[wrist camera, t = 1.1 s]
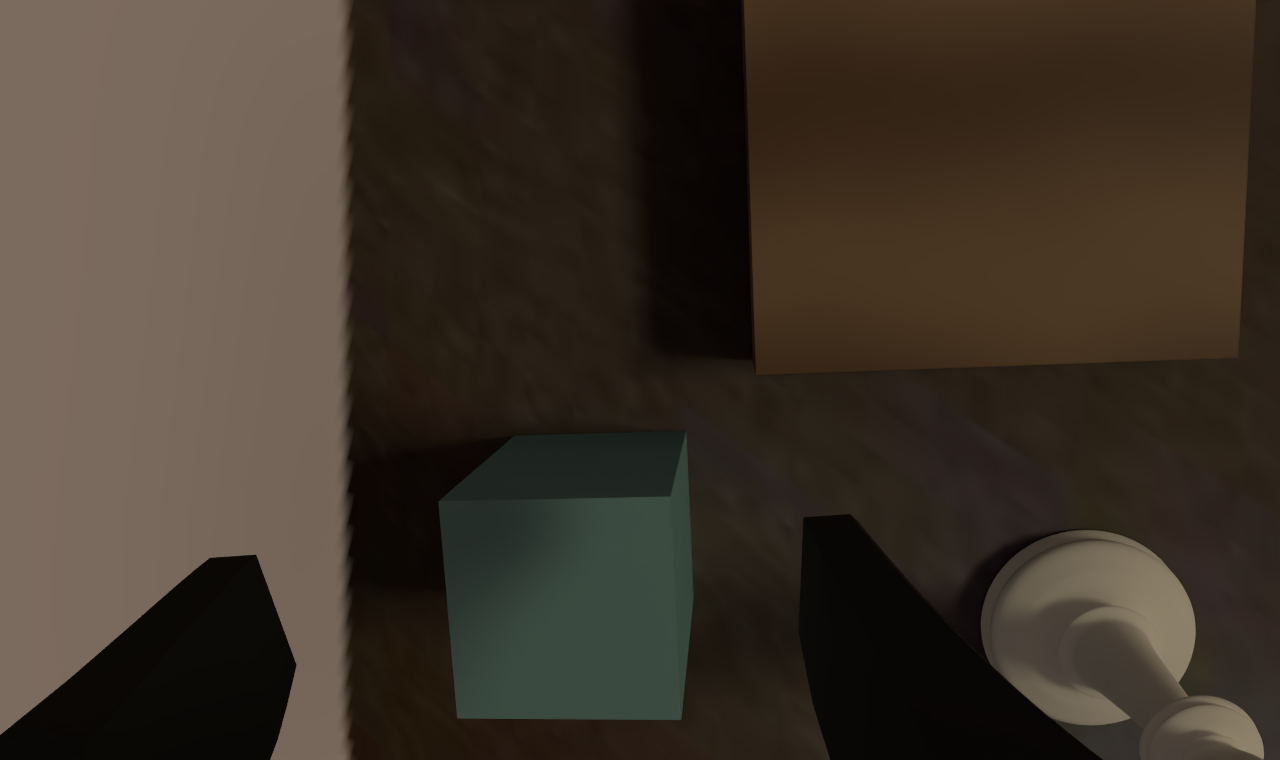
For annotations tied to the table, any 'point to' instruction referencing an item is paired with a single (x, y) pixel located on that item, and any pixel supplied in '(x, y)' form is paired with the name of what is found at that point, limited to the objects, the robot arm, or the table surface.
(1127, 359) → the walnut base
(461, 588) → the teal block
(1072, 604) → the chess piece
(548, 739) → the table surface
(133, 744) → the robot arm
